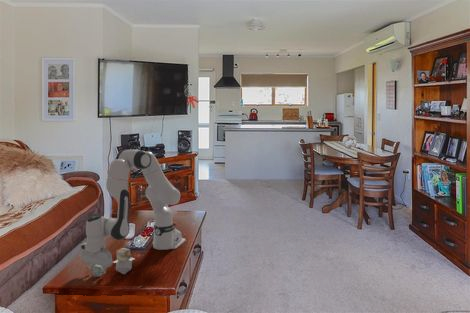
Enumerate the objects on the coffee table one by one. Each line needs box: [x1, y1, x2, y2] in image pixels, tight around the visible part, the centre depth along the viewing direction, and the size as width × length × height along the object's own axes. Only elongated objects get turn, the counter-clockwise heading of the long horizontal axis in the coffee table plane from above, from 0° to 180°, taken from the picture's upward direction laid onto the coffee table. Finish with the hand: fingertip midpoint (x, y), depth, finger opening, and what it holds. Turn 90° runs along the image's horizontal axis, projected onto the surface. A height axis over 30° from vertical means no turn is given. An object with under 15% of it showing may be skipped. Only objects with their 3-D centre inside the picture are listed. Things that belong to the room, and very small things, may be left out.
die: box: [115, 259, 133, 275], centre depth 207 cm, size 8×9×10 cm
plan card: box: [113, 257, 136, 264], centre depth 222 cm, size 10×8×1 cm
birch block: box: [115, 247, 132, 262], centre depth 206 cm, size 5×5×5 cm
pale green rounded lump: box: [92, 264, 104, 278], centre depth 204 cm, size 5×5×5 cm
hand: (97, 271), depth 204 cm, fingers open, 8 cm apart
